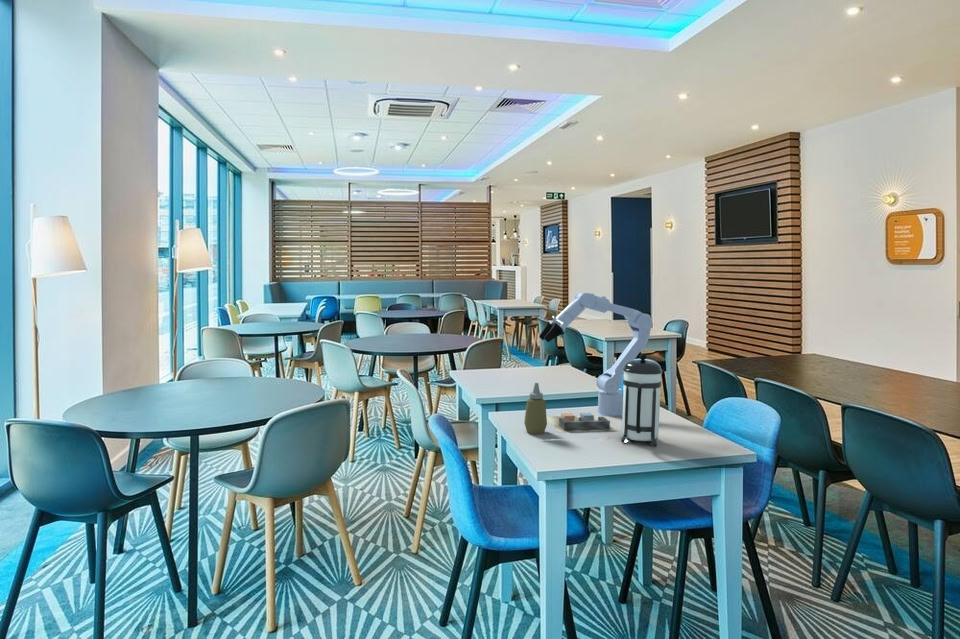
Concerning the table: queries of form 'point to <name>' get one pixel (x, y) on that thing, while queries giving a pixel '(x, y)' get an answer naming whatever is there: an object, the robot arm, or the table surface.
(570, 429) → the comb board
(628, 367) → the coffee press
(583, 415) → the slate-blue plug
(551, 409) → the table surface
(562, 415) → the peach square block
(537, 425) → the squeeze bottle
